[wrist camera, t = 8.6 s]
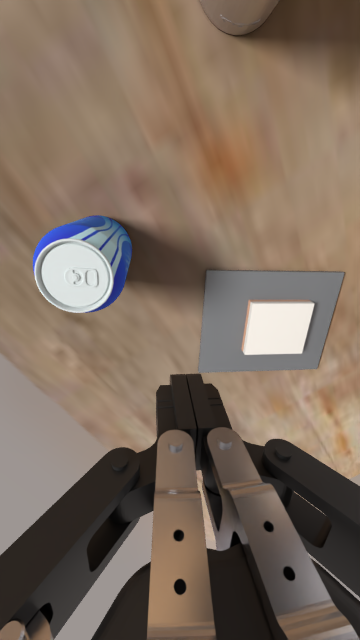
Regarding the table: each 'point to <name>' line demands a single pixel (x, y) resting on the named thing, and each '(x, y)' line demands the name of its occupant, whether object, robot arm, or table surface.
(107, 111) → the table surface
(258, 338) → the tile
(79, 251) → the beer can
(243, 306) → the mat
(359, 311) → the table surface
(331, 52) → the table surface
